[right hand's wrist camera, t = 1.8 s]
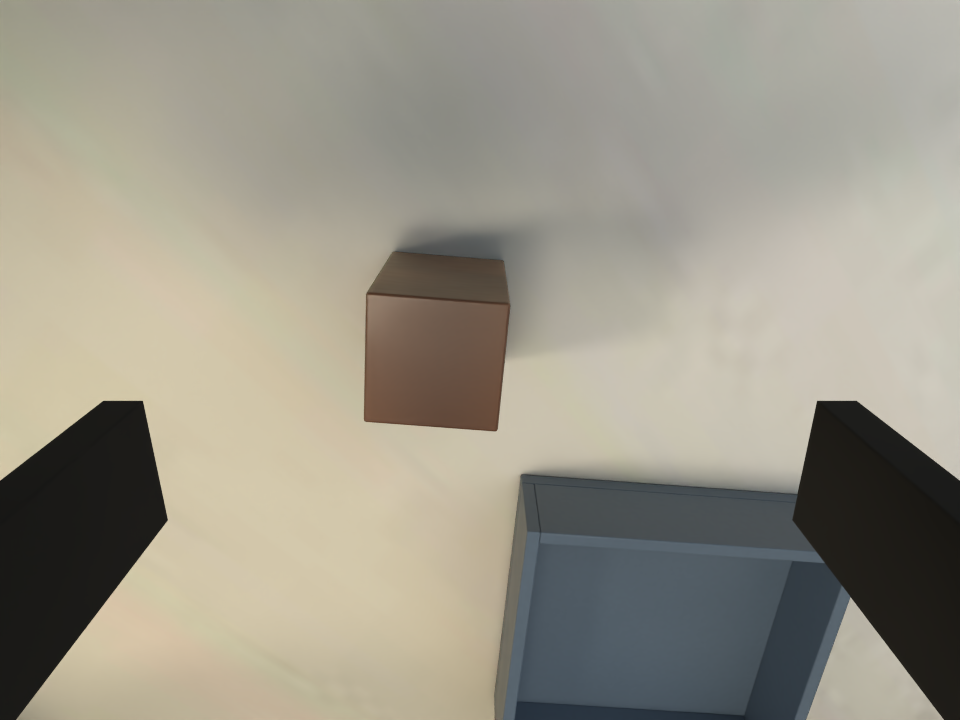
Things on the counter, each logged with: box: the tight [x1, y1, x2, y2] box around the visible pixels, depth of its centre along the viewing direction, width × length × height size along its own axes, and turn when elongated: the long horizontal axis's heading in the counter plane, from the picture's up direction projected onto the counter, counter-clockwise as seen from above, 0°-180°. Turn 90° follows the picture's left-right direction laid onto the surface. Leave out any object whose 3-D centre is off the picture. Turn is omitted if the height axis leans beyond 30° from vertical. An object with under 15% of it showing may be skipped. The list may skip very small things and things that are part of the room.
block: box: [364, 252, 510, 431], centre depth 26 cm, size 5×5×7 cm
